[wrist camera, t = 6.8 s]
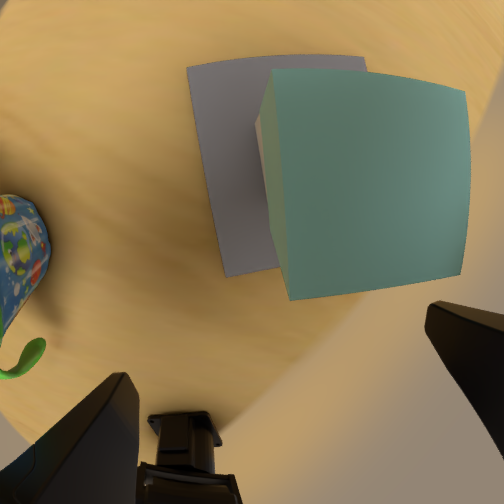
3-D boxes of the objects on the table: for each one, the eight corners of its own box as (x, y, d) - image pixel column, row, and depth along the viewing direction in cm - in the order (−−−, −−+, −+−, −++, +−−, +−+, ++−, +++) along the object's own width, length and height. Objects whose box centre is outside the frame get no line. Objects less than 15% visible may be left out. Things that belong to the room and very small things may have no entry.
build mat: (381, 241, 20) (385, 244, 20) (225, 274, 20) (225, 277, 19) (359, 59, 15) (363, 56, 15) (187, 70, 15) (186, 67, 14)
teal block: (378, 221, 12) (460, 274, 6) (270, 229, 12) (289, 300, 6) (374, 110, 10) (464, 91, 5) (259, 111, 10) (271, 69, 5)
